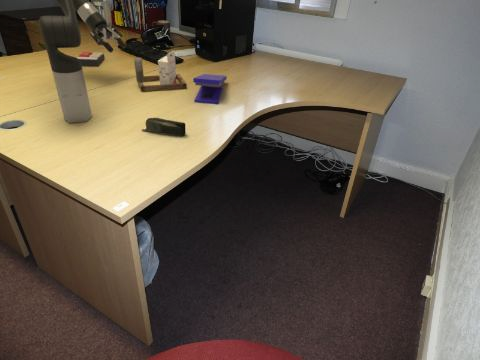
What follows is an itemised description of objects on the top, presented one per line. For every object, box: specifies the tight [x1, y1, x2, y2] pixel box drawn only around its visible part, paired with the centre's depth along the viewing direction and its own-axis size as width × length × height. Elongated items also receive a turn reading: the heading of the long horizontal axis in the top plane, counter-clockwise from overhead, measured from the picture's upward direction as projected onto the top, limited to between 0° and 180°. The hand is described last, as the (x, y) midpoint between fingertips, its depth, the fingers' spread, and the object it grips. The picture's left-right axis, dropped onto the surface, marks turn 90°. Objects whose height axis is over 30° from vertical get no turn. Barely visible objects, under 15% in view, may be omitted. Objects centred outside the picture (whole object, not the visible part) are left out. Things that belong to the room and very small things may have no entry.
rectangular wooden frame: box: [133, 56, 188, 92], centre depth 149 cm, size 14×21×12 cm
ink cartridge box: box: [157, 49, 177, 85], centre depth 150 cm, size 9×5×15 cm, turn 168°
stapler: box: [192, 73, 228, 105], centre depth 147 cm, size 12×28×10 cm, turn 177°
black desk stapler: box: [141, 117, 187, 137], centre depth 113 cm, size 5×3×15 cm
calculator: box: [76, 51, 105, 68], centre depth 174 cm, size 11×4×15 cm
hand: (118, 49), depth 145 cm, fingers open, 8 cm apart
